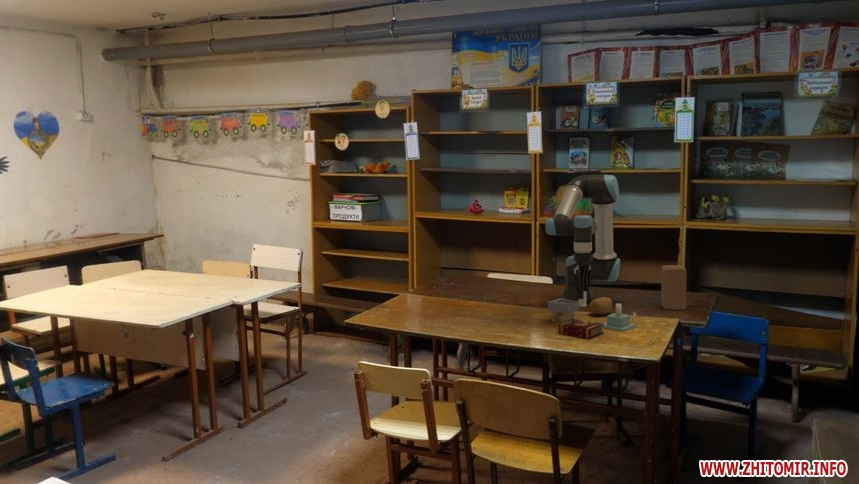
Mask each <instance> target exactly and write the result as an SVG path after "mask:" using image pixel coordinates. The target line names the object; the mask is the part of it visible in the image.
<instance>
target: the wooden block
mask: <svg viewBox="0 0 859 484" xmlns="http://www.w3.org/2000/svg"><path fill="white" fill-rule="evenodd" d="M660 278H661V285H660V286H661V287H660V290H661V292H660V297H661V298H660V304H661V307H662V308H663V310H671V311H684V310H686V308H687V305H686V304H687V268H686V267H685V266H684V265H682V264H680V265H679V264H678V265H674V264H673V265H668V264H667V265H666V264H665V265H664V264H663V265H662V266H661V277H660Z"/></svg>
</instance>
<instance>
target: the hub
mask: <svg viewBox="0 0 859 484" xmlns="http://www.w3.org/2000/svg"><path fill="white" fill-rule="evenodd" d="M622 306H623V305H622V303H616V304H615V313H612V314H609V315H607V316H606V322H605V323H603V324H604V326H602V329H606V330H612V331H618V332H622V333H623V332H626V331H629V330H631V329H634V328H637V327H638V326H637V323H631V315H629V314H625V313H622V311H623V310H622V309H623V308H622Z"/></svg>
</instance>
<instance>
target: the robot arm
mask: <svg viewBox="0 0 859 484" xmlns="http://www.w3.org/2000/svg"><path fill="white" fill-rule="evenodd" d="M619 192H620V188H619V182H618V179H617V177H616V176H615V175H613V174H590V175H589V174H585V175H580V176H577V177H575V178H574V179H572V180H571V181H569V182H568V183H567V184H566V185H565V186H564V188H563V191H562V199H561V201H560V202H559V205H558V208H557V209H556V212H555V214H554V216H553V217H550V218H547V219H546V221H545V225H544V226H545V228H544V229H545V233H546V234H547V235H549V236H573V251H574V252H573V255H570V256H568V257H567V258H566V260H565V287H564V290H563V293H562V298H563V299H569V300H576V301H579V307H583V308H584V307H587V303H590V302H591V301H593V300H594V299H593V297H594V295H593V292H592V290H591V281H594V282H595V281H596V282H607V283H608V282H616V281H617V280H618V277H619V274H620V267H621V259H620V258H619V257H617V253H616V252H615V251H614V219H613V218H614V216H613V213H614V212H613V206H614V205H615V203H616V200H618V199H619V198H620V197H619V196H620V193H619ZM581 200H590V204H592V206H594V208H593V209H594V218H593V216H591V215H575V216H574V218H572V217H573V215H574V212H575V210H576V208H577V205H578V203H580V201H581ZM593 235H594V238H595V240H594V241H595V252H594V253H592V251H593Z"/></svg>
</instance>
